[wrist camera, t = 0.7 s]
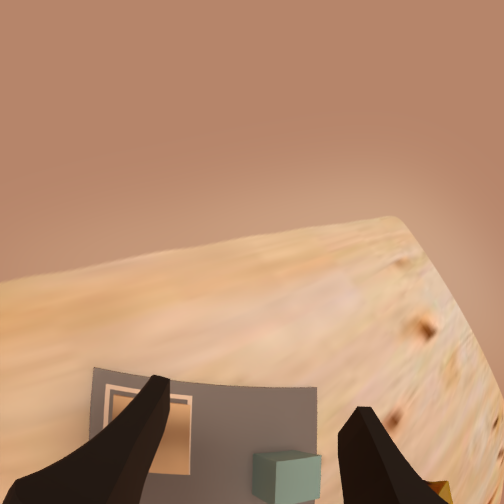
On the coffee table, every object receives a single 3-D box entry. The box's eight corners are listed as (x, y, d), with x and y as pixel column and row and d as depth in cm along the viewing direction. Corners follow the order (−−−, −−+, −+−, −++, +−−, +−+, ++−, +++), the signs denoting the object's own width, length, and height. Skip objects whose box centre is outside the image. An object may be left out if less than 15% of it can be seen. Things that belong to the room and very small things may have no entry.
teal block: (293, 488, 23) (319, 498, 19) (252, 494, 21) (274, 507, 18) (294, 449, 25) (321, 455, 21) (253, 453, 23) (276, 461, 20)
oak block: (181, 466, 20) (188, 474, 18) (111, 459, 18) (111, 467, 16) (182, 403, 23) (190, 405, 21) (114, 394, 21) (113, 395, 19)
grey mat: (311, 503, 23) (314, 505, 22) (92, 510, 15) (91, 513, 15) (313, 387, 30) (317, 387, 29) (94, 367, 22) (93, 367, 21)
